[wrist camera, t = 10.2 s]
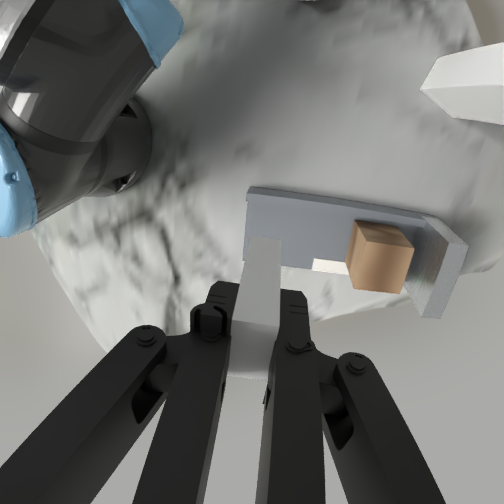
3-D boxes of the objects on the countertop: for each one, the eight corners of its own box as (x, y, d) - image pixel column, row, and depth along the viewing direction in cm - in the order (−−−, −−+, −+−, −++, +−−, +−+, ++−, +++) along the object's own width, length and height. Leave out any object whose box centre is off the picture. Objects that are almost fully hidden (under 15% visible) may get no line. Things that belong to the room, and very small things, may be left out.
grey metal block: (401, 280, 41) (421, 317, 33) (420, 215, 37) (449, 242, 29) (418, 282, 41) (440, 318, 33) (438, 219, 37) (468, 246, 29)
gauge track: (243, 256, 44) (240, 267, 41) (249, 186, 40) (246, 193, 37) (415, 278, 42) (422, 289, 39) (434, 216, 38) (444, 224, 35)
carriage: (343, 267, 41) (351, 296, 35) (354, 219, 38) (366, 241, 32) (387, 273, 41) (401, 301, 35) (400, 227, 38) (419, 249, 32)
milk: (451, 117, 32) (569, 144, 12) (418, 89, 31) (531, 86, 12) (469, 85, 29) (586, 92, 10) (437, 56, 29) (550, 34, 9)
